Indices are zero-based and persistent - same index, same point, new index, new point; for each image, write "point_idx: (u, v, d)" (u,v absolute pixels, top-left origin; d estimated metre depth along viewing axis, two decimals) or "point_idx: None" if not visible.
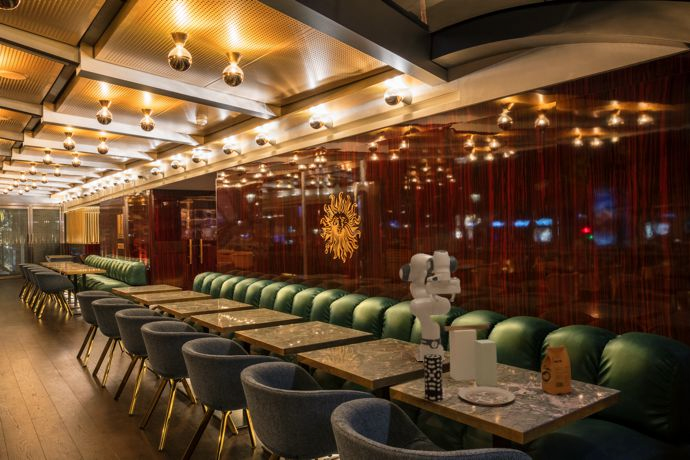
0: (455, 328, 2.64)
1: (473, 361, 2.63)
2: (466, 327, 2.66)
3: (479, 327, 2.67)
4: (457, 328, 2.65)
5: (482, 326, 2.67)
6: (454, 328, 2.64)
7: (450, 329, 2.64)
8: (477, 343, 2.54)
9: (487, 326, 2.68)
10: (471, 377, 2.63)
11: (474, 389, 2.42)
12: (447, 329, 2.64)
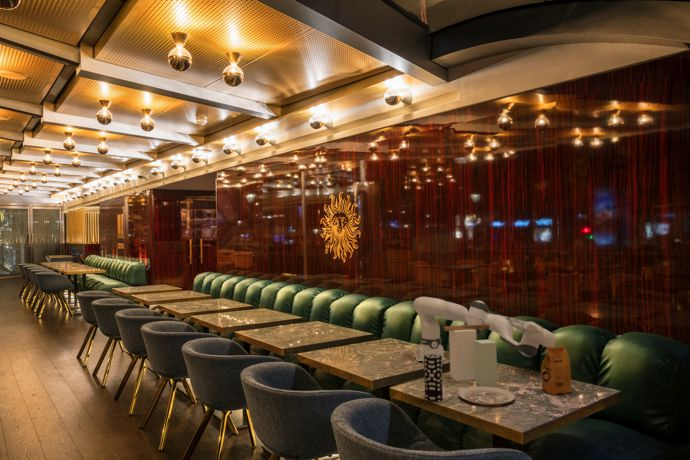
0: (455, 328, 2.64)
1: (473, 361, 2.63)
2: (466, 327, 2.66)
3: (479, 327, 2.67)
4: (457, 328, 2.65)
5: (482, 326, 2.67)
6: (454, 328, 2.64)
7: (450, 329, 2.64)
8: (477, 343, 2.54)
9: (487, 326, 2.68)
10: (471, 377, 2.63)
11: (474, 389, 2.42)
12: (447, 329, 2.64)
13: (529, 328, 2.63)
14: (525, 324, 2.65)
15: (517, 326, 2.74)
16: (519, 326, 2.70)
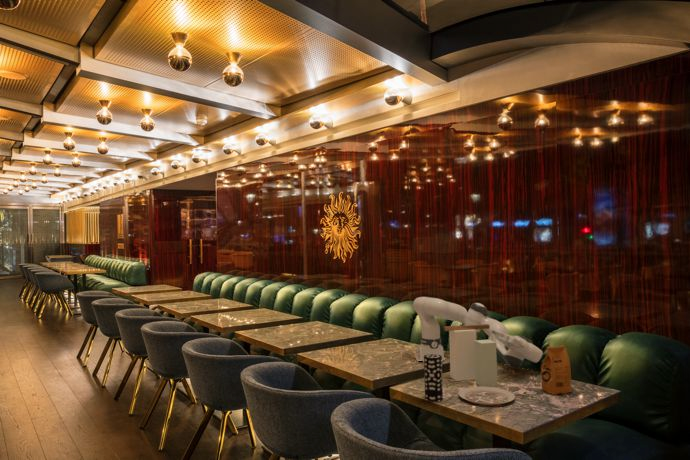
0: (455, 328, 2.64)
1: (473, 361, 2.63)
2: (466, 327, 2.66)
3: (479, 327, 2.67)
4: (457, 328, 2.65)
5: (482, 326, 2.67)
6: (454, 328, 2.64)
7: (450, 329, 2.64)
8: (477, 343, 2.54)
9: (487, 326, 2.68)
10: (471, 377, 2.63)
11: (474, 389, 2.42)
12: (447, 329, 2.64)
13: (514, 343, 2.60)
14: (510, 339, 2.62)
15: (502, 340, 2.71)
16: (504, 340, 2.67)
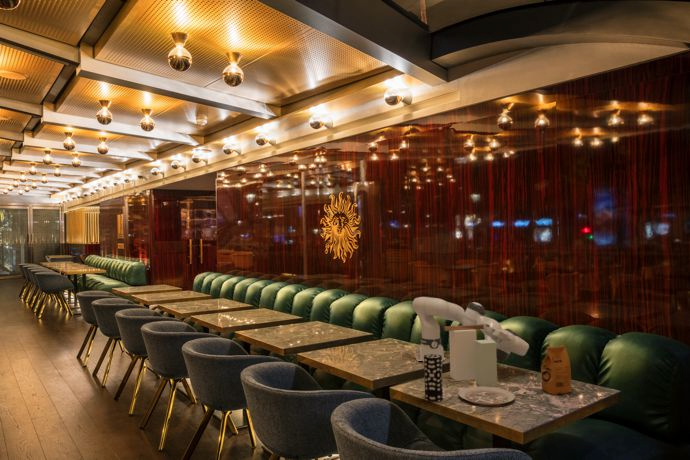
0: (455, 328, 2.64)
1: (473, 361, 2.63)
2: (466, 327, 2.66)
3: (479, 327, 2.67)
4: (457, 328, 2.65)
5: (482, 326, 2.67)
6: (454, 328, 2.64)
7: (450, 329, 2.64)
8: (477, 343, 2.54)
9: (487, 326, 2.68)
10: (471, 377, 2.63)
11: (474, 389, 2.42)
12: (447, 329, 2.64)
13: (499, 336, 2.60)
14: (496, 332, 2.62)
15: (489, 333, 2.71)
16: (490, 333, 2.66)
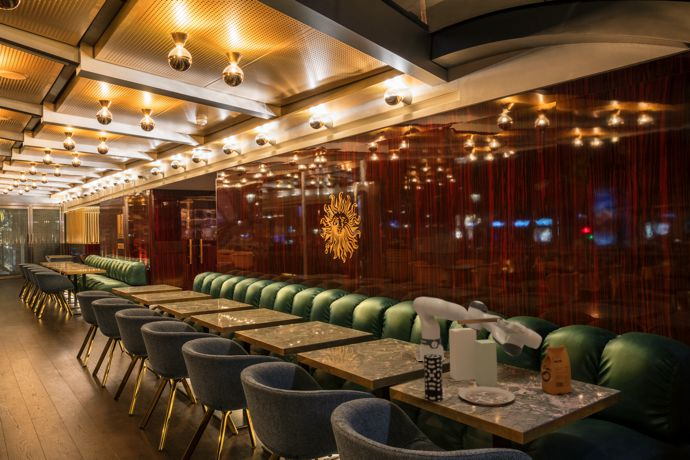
0: (469, 321, 2.63)
1: (473, 361, 2.63)
2: (479, 320, 2.64)
3: (492, 320, 2.66)
4: (471, 321, 2.63)
5: (495, 319, 2.66)
6: (468, 321, 2.63)
7: (464, 322, 2.62)
8: (477, 343, 2.54)
9: None
10: (471, 377, 2.63)
11: (474, 389, 2.42)
12: (461, 322, 2.62)
13: (513, 329, 2.59)
14: (509, 324, 2.60)
15: (502, 326, 2.70)
16: (504, 326, 2.65)
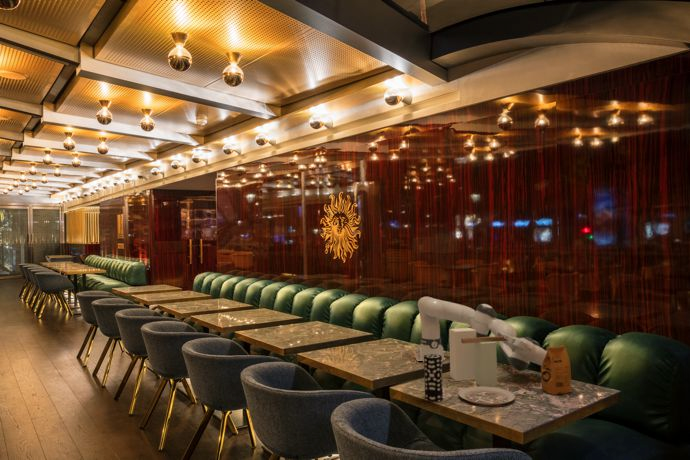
0: (473, 340, 2.51)
1: (473, 361, 2.63)
2: (484, 339, 2.52)
3: (498, 339, 2.54)
4: (475, 340, 2.51)
5: (501, 338, 2.54)
6: (472, 340, 2.51)
7: (468, 341, 2.51)
8: (477, 343, 2.54)
9: None
10: (471, 377, 2.63)
11: (474, 389, 2.42)
12: (465, 341, 2.50)
13: (520, 346, 2.46)
14: (516, 341, 2.48)
15: (508, 343, 2.58)
16: (510, 343, 2.53)
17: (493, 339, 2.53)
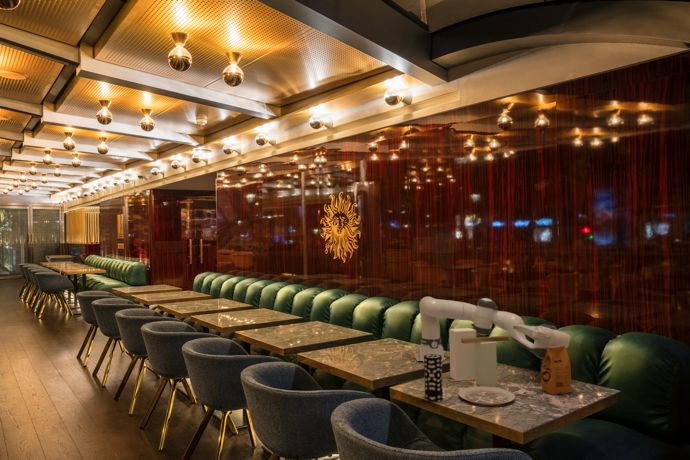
0: (473, 340, 2.51)
1: (473, 361, 2.63)
2: (484, 339, 2.52)
3: (498, 339, 2.54)
4: (475, 340, 2.51)
5: (501, 338, 2.54)
6: (472, 340, 2.51)
7: (468, 341, 2.51)
8: (477, 343, 2.54)
9: (506, 338, 2.55)
10: (471, 377, 2.63)
11: (474, 389, 2.42)
12: (465, 341, 2.50)
13: (538, 336, 2.49)
14: (533, 333, 2.51)
15: None
16: (528, 335, 2.56)
17: (493, 339, 2.53)
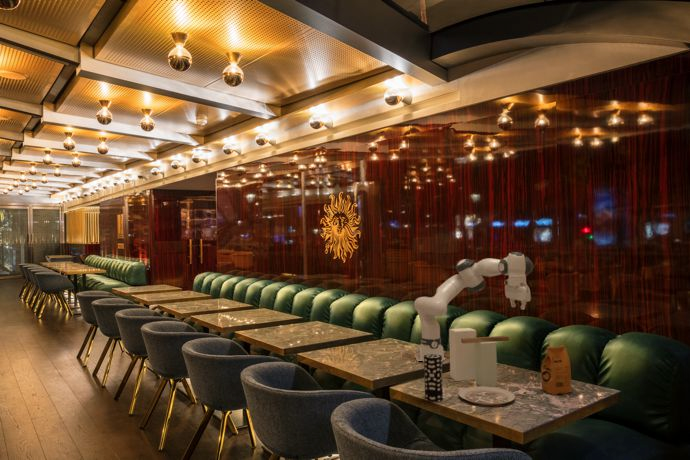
0: (473, 340, 2.51)
1: (473, 361, 2.63)
2: (484, 339, 2.52)
3: (498, 339, 2.54)
4: (475, 340, 2.51)
5: (501, 338, 2.54)
6: (472, 340, 2.51)
7: (468, 341, 2.51)
8: (477, 343, 2.54)
9: (506, 338, 2.55)
10: (471, 377, 2.63)
11: (474, 389, 2.42)
12: (465, 341, 2.50)
13: (529, 298, 2.56)
14: None
15: None
16: None
17: (493, 339, 2.53)
